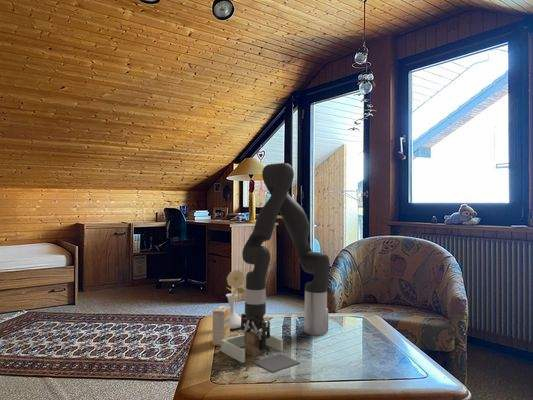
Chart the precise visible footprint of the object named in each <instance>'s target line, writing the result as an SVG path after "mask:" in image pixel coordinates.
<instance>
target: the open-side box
mask: <svg viewBox="0 0 533 400" xmlns="http://www.w3.org/2000/svg"><path fill="white" fill-rule="evenodd" d="M266 335H267V332H266ZM244 339H245V333H244V334H240V335H236V336H230V338H227V339H223V340H221V346H220V352H221V353H224V354H226V355H227V356H229V357H231V358H232V359H234V360H236V361H238V362H240V363H242V364H243V363H246V352H245V348H242V347H245V340H244ZM265 346H266V347H267V346H268V347H270V348H272V349H274V350H277V351H278V352H283V351H284V340H283V339H282V338H279V337H277V336H275V335H272V334H270V338H268V339H266V345H265Z"/></svg>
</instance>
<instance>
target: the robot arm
mask: <svg viewBox="0 0 533 400" xmlns="http://www.w3.org/2000/svg"><path fill="white" fill-rule="evenodd" d="M261 173H262V180H263V183H264V185H265V188H266V189H267V191H268V193H269V194H270V197H269V198H268V200H267V202H265V203H264V205H263V206H262V208H261V209H260V211H259V212H258V215H257V217H256V220H255V224H254V227H253V230H252V232H251V234H250V236H249V237H248V239H247V240H246V243H245V245H243V246H244V247H243V248H242V260H243V262H245V263H246V264H248V265H254V267H253V269H252V271H248V272H247V273H246V275H245V278H246V279H245V293H244V313H241V316H240V317H241V327H240V330H241V331H243V333H244V334H245V333H246V332H250V331H255V332H256V334H258V336H259V350H264V349H265V350H266V347H267V345H266V339H268V338H270V335H271V327H270V326H271V323H270V320H264V316H265V315H266V313H267V312H266V311H267V309H266V308H267V307H266V306H267V302H266V301H267V293H266V277H267V274H268V270H269V266H270V261H271V253H270V249H268V247H266V246H264V245H263V243H265V242H268V241H270V240H271V238H272V236H273V232H274V228H275V225H276V221H277V218H278V215H279V213H280V215H281V218H282V221H283V224H284V225H285V227H286V230H287V231H288V233H289V236H290V239H291V241H292V243H293V246H294V248H295V251H296V255H297V258H298V260H299V263H300V266H301V269H302V270H303V271H304V272H305V273H307V274H309V275H310V274H311V275H313V280H312V281H308V282H306V283H305V284H304V330H303V331H304V333H305V334H307V335H311V336H323V335H326V334H327V332H329V308H328V286H329V282H330V268H331V267H330V266H331V263H330V258H329V256H328V254H327V253H324V252H318V251H314V250H312V248H311V246H310V243H309V240H308V239H309V234H310V228H311V226H310V220H308V215H307V214H306V212H305V210H304V208H303V207H302V206H301V205H300V204H299V203H298V202H297V201H296V200H295V199H294V198H293V197H292V196H291V195H290V194H289V190H290V188H291V186H292V184H293V181H294V179H295V178H294V177H295V172H294V168H293V167H292V165H291V164H290V163H288V162H287V163H286V162H281V163H279V162H278V163H270V164H267V165H265V166H264V167H263V169H262V171H261ZM261 333H262V335H261ZM266 333H267V335H266ZM244 340H245V339H244Z"/></svg>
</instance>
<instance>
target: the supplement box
mask: <svg viewBox="0 0 533 400" xmlns="http://www.w3.org/2000/svg"><path fill="white" fill-rule="evenodd" d="M211 334H212V339H211V340H212V341H211V342H212V344H211V345H212V346H214V347H215V346H217V347H221V340H223V339H227V338H231V329H230V306H229V305H228V306H227V305H218V307H216V308H215V309H214V310H212V332H211Z"/></svg>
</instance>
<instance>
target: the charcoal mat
mask: <svg viewBox="0 0 533 400" xmlns="http://www.w3.org/2000/svg"><path fill="white" fill-rule="evenodd" d="M300 363H301V362H299V361H297V360H296V359H292V358H290V357H289V356H286V355H284V354H282V353H278V354H275V355H271V356H268V357H265V358H261V359H258V360H255V361H253V364H255V365H257V366H259V367H260V368H262V369H264V370H267V371H269V372H270V373H272V374H273V373H275V372H278V371H282V370H284V369H287V368H291V367H294V366H297V365H299V364H300Z"/></svg>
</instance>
